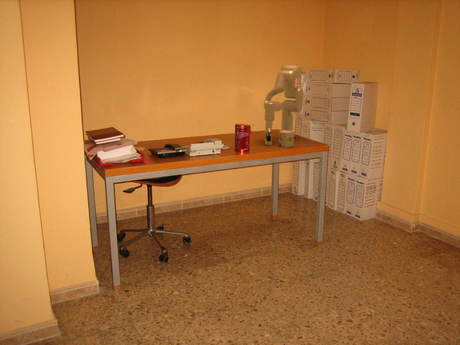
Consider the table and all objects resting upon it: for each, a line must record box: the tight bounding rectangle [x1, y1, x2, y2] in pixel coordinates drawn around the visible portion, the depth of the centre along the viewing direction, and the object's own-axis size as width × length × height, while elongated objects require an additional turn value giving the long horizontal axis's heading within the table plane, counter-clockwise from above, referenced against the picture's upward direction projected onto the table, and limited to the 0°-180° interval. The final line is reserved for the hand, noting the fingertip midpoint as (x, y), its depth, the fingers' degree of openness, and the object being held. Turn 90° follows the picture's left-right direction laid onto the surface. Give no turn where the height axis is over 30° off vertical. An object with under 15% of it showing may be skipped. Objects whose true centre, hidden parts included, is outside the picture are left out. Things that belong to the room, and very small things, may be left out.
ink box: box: [277, 130, 295, 149], centre depth 335 cm, size 9×9×12 cm
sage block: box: [264, 136, 273, 146], centre depth 342 cm, size 5×5×5 cm
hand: (268, 140), depth 341 cm, fingers open, 9 cm apart
